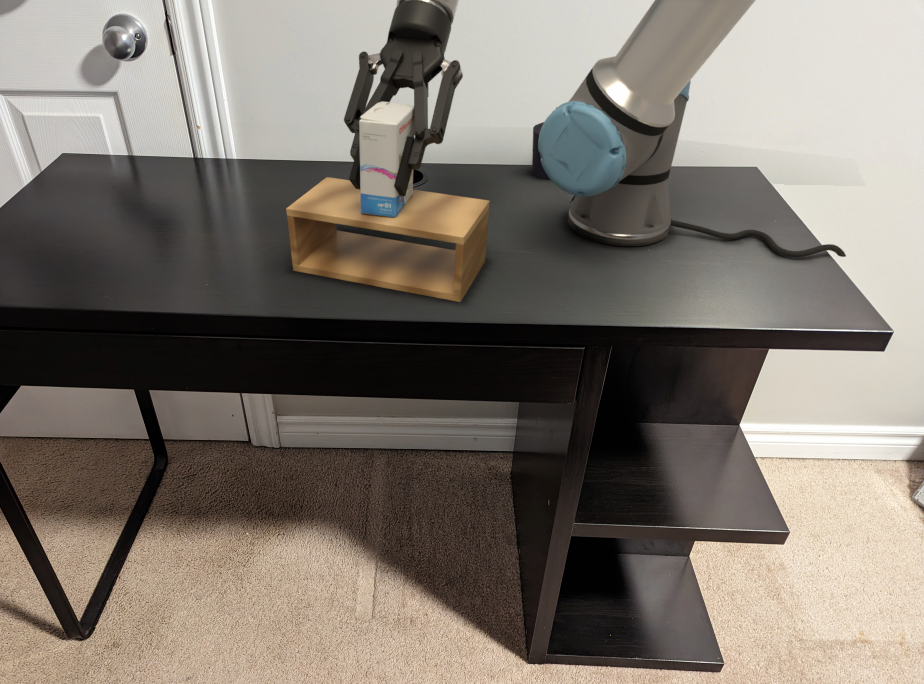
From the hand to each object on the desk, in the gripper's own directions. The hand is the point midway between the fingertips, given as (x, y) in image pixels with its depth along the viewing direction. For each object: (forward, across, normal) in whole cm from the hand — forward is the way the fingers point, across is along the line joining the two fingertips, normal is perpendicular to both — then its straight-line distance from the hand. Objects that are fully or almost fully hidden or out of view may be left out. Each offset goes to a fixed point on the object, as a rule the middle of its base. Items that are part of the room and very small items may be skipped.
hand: (377, 187), depth 84 cm
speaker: (-24, -14, -42) cm, 50 cm away
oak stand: (+6, 0, -12) cm, 13 cm away
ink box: (0, 0, -5) cm, 5 cm away
